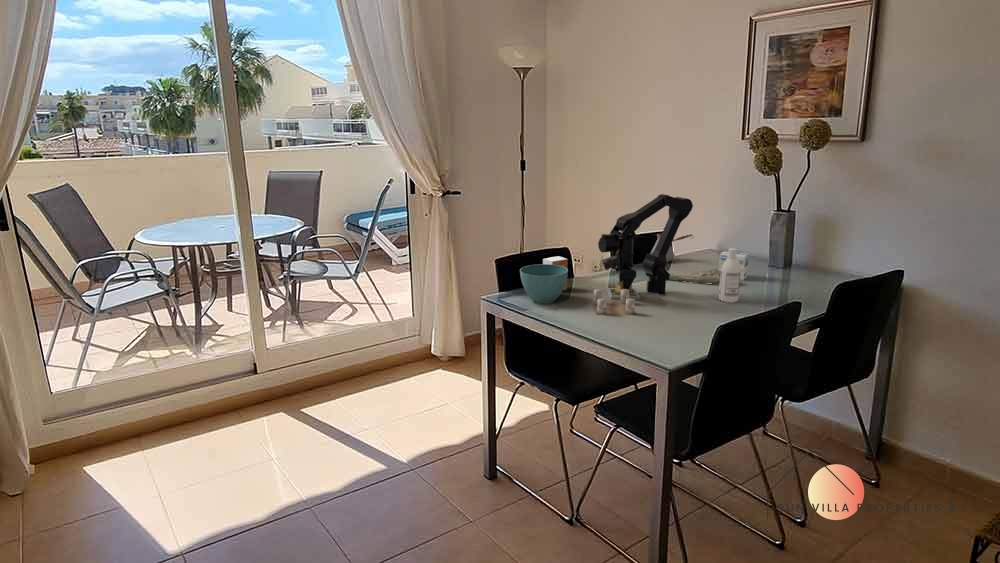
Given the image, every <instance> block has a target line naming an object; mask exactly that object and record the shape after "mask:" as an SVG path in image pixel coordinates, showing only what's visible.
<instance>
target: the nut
mask: <svg viewBox="0 0 1000 563" xmlns="http://www.w3.org/2000/svg"><path fill="white" fill-rule="evenodd" d="M614 284H615V288H614V289H615V293H614V296H621V290H622V289H623V282H620V281H617V282H616V283H614ZM632 288H633V283H632V284H631V286H630V288H629V296H633V295H632V294H633V293H632Z"/></svg>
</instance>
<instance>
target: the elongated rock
mask: <svg viewBox="0 0 1000 563" xmlns="http://www.w3.org/2000/svg"><path fill="white" fill-rule="evenodd" d="M666 271H667V272H668V273H669V274H670V277H669V279H668V280H667V281H672V280H674V281H673V282H681V281H686V282H685V283H689V282H698V283H697V284H703V283H712V285H714V284H720V276H721V271H719V269H717V268H715V269H714V268H713V269H710V270H709V269H708V270H707V271H701V272H700V271H698V272H692V271H678V270H677V271H676V270H666Z"/></svg>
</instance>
